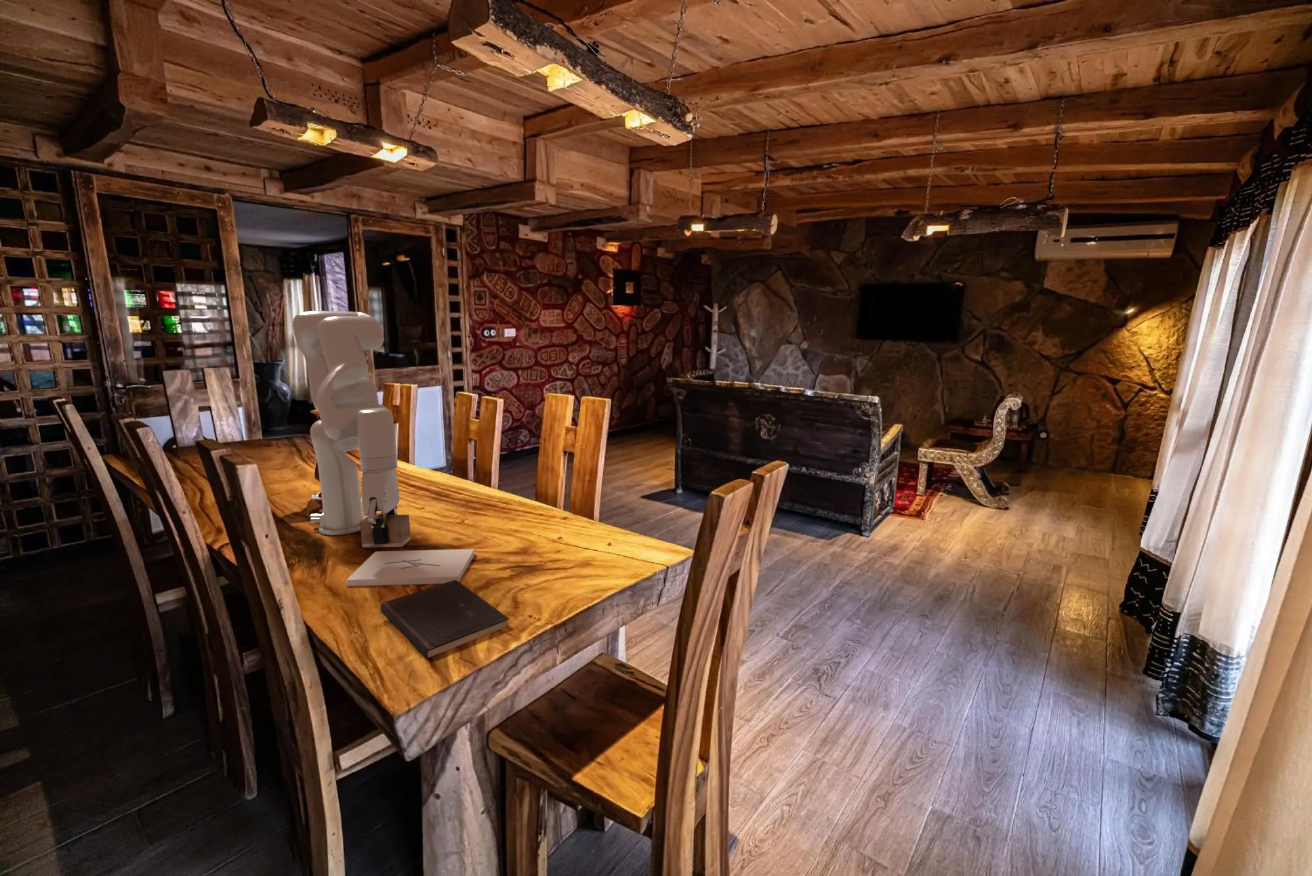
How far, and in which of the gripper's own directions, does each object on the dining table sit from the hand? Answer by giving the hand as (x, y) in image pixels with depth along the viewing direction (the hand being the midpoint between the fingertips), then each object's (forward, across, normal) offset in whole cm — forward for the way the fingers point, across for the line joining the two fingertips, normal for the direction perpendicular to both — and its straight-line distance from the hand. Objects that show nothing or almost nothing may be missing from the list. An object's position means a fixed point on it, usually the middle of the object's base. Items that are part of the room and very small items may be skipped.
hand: (386, 538), depth 132 cm
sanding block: (+1, 0, 0) cm, 1 cm away
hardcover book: (+9, +23, +19) cm, 31 cm away
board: (+8, 0, +6) cm, 10 cm away
